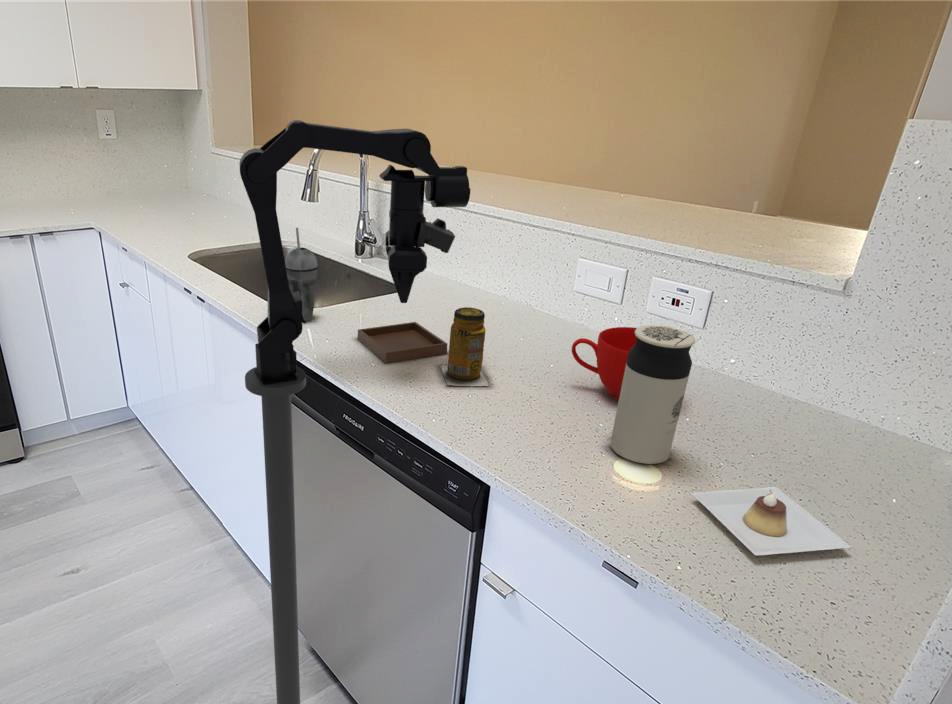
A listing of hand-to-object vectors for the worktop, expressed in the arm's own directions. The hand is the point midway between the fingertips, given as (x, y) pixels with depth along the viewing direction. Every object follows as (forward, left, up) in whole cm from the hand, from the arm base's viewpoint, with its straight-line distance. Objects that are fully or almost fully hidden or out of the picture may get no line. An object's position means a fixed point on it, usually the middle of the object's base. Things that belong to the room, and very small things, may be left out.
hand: (402, 294), depth 117 cm
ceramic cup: (+28, -27, -13) cm, 41 cm away
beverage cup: (-10, +28, -13) cm, 33 cm away
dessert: (+18, -62, -13) cm, 66 cm away
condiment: (+7, -11, -13) cm, 19 cm away
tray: (+3, +6, -13) cm, 14 cm away
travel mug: (+17, -43, -13) cm, 48 cm away
